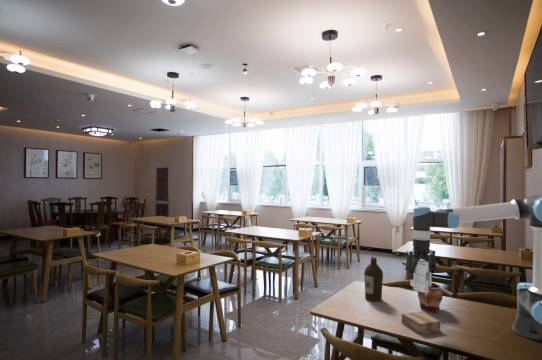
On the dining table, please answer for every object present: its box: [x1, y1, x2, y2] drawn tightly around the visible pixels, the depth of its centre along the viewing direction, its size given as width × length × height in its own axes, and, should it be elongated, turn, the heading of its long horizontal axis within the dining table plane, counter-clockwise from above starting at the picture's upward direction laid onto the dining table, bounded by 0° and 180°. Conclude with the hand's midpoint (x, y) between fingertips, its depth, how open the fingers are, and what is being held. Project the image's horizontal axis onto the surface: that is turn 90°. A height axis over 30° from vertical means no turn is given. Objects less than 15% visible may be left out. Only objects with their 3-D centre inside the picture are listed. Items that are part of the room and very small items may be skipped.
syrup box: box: [412, 258, 429, 293], centre depth 156 cm, size 6×6×14 cm
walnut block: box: [401, 310, 441, 335], centre depth 156 cm, size 12×12×5 cm
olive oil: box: [363, 256, 384, 303], centre depth 193 cm, size 11×11×25 cm
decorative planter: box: [417, 281, 443, 313], centre depth 177 cm, size 20×12×14 cm, turn 148°
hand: (420, 285), depth 156 cm, fingers closed on syrup box, 8 cm apart
